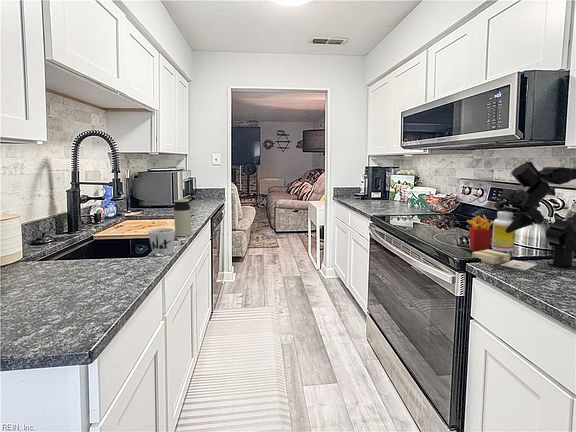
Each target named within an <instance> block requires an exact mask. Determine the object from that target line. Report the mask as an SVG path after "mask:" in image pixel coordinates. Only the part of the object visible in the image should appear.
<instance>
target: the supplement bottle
mask: <svg viewBox="0 0 576 432" xmlns="http://www.w3.org/2000/svg"><path fill="white" fill-rule="evenodd" d="M496 215H497V216H498V218H497V216H496V218H497V219H496V218H495V219H494V220H493V224H492V235H491V249H492V250H493V251H498V252H513V250H514V248H515V238H516V237H515V235H516V230H515V231H513V232H510V233H507V232H506V229H507V228H508V227H509V225H510V224H511V223H512V222H513V220H514V219H513V217H514V215H513V212H507V211H499V212H498V211H497V213H496Z"/></svg>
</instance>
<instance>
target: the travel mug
mask: <svg viewBox="0 0 576 432" xmlns="http://www.w3.org/2000/svg"><path fill="white" fill-rule="evenodd" d="M189 201H190V199H189V198H188V199H187V198H186V199H184V198H182V199H180V198H179V199H174V200H173V202H174V205H173V218H174V230H175V234H176V235H190V234H192V223H191V222H192V216H191V206H190V204H189ZM190 236H191V235H190Z"/></svg>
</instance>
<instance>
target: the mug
mask: <svg viewBox="0 0 576 432" xmlns="http://www.w3.org/2000/svg"><path fill="white" fill-rule="evenodd" d="M147 234H148V237H149V238H148V239H149V243H150V247H151V250H152V253H153V252H154V253H170V252H173V253H174V244H175V228H156V229H155V228H154V229H150V230H148V231H147Z"/></svg>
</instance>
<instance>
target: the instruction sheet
mask: <svg viewBox="0 0 576 432" xmlns="http://www.w3.org/2000/svg"><path fill="white" fill-rule="evenodd" d="M502 266H503V267H507V268H512V269H513V268H514V269H518V270H522V271H527V270H529V269H531V268H534V267H535V266H538V264H537V263H531V262H526V261H521V260H516V259H512V260H510V261H507V262H503V263H501V267H502Z"/></svg>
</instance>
